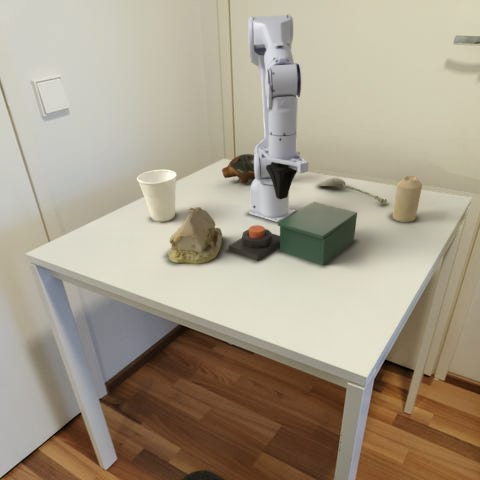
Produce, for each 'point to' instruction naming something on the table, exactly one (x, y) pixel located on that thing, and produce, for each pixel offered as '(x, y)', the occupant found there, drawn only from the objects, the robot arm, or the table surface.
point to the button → (256, 232)
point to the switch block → (255, 245)
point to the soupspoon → (342, 184)
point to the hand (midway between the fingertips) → (281, 197)
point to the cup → (159, 193)
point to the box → (317, 243)
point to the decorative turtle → (240, 168)
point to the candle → (407, 199)
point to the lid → (317, 219)
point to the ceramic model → (195, 239)
